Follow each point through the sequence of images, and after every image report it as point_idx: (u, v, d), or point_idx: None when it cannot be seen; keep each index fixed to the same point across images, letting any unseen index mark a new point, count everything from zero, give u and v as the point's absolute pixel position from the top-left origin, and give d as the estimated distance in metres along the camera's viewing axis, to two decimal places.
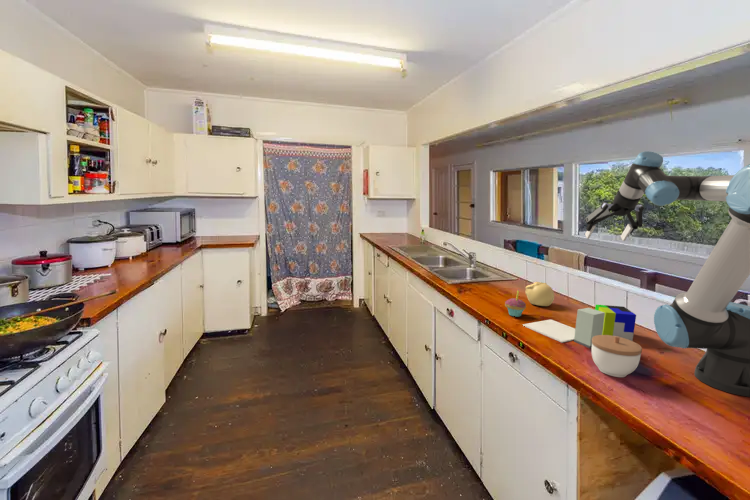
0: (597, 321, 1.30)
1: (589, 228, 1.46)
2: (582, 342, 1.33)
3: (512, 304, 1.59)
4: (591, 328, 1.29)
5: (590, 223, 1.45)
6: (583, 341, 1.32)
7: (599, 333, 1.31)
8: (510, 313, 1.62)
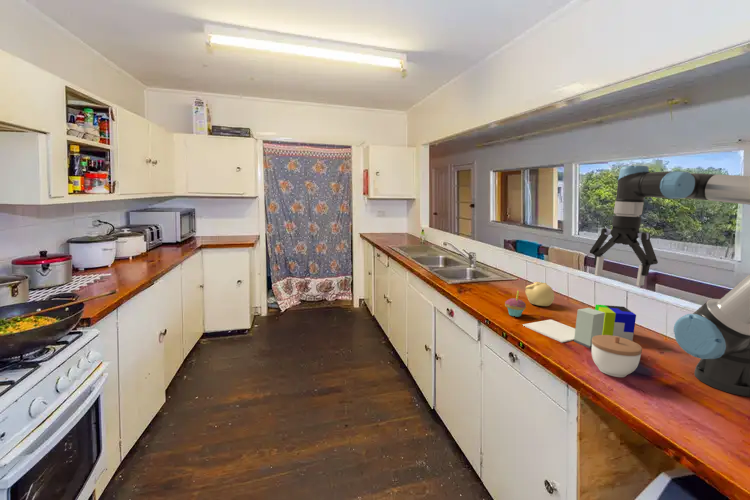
0: (597, 321, 1.30)
1: (595, 261, 1.30)
2: (582, 342, 1.33)
3: (512, 304, 1.59)
4: (591, 328, 1.29)
5: (595, 254, 1.30)
6: (583, 341, 1.32)
7: (599, 333, 1.31)
8: (510, 313, 1.62)
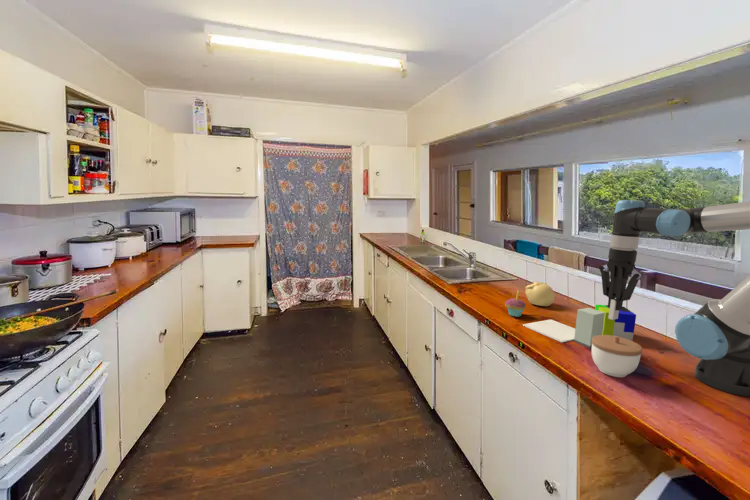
0: (597, 321, 1.30)
1: (609, 303, 1.26)
2: (582, 342, 1.33)
3: (512, 304, 1.59)
4: (591, 328, 1.29)
5: None
6: (583, 341, 1.32)
7: (599, 333, 1.31)
8: (510, 313, 1.62)
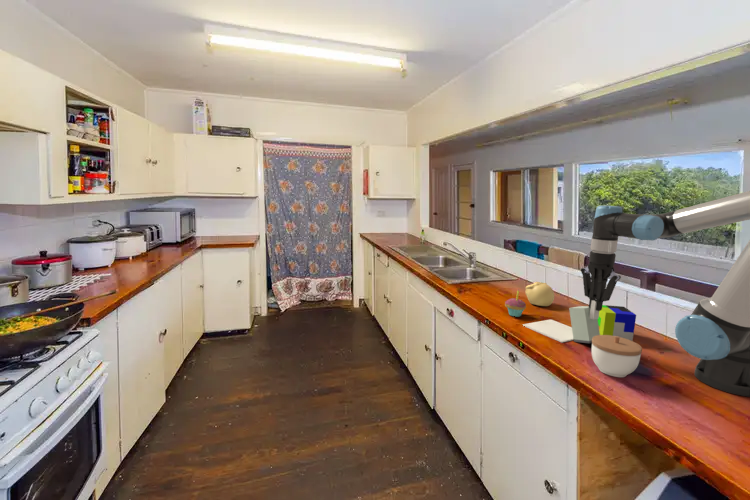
0: (589, 314, 1.32)
1: (590, 304, 1.32)
2: (581, 339, 1.33)
3: (512, 304, 1.59)
4: (586, 322, 1.31)
5: None
6: (582, 338, 1.33)
7: (595, 327, 1.33)
8: (510, 313, 1.62)
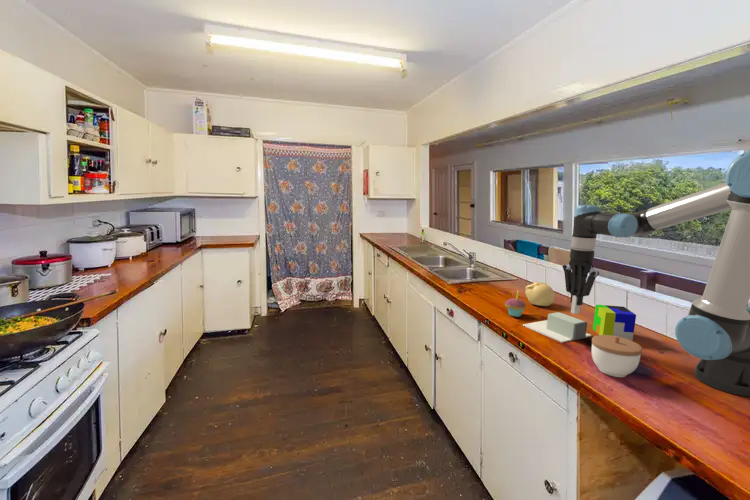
0: (557, 315, 1.44)
1: (571, 299, 1.38)
2: (572, 330, 1.36)
3: (512, 304, 1.59)
4: (559, 318, 1.41)
5: None
6: (571, 329, 1.36)
7: (573, 318, 1.40)
8: (510, 313, 1.62)
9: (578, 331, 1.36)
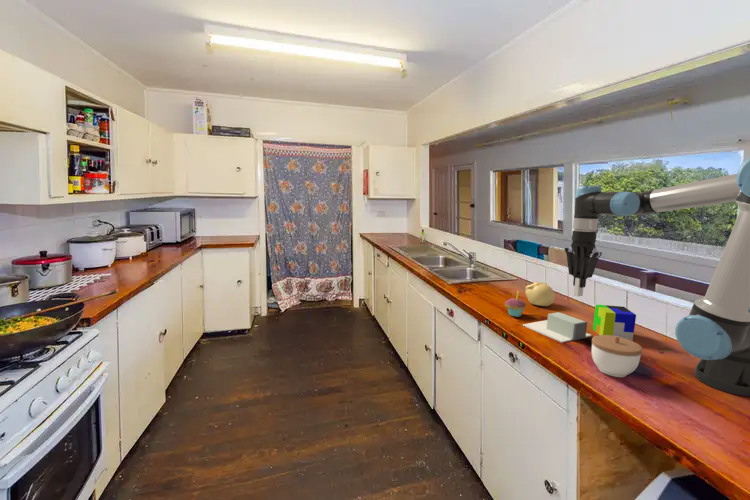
0: (557, 315, 1.44)
1: (574, 282, 1.37)
2: (572, 330, 1.36)
3: (512, 304, 1.59)
4: (559, 318, 1.41)
5: None
6: (571, 329, 1.36)
7: (573, 318, 1.40)
8: (510, 313, 1.62)
9: (578, 331, 1.36)
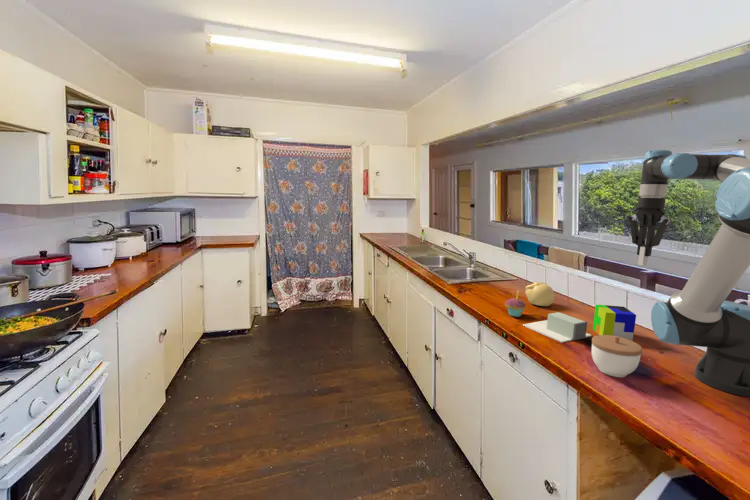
0: (557, 315, 1.44)
1: (638, 251, 1.33)
2: (572, 330, 1.36)
3: (512, 304, 1.59)
4: (559, 318, 1.41)
5: None
6: (571, 329, 1.36)
7: (573, 318, 1.40)
8: (510, 313, 1.62)
9: (578, 331, 1.36)
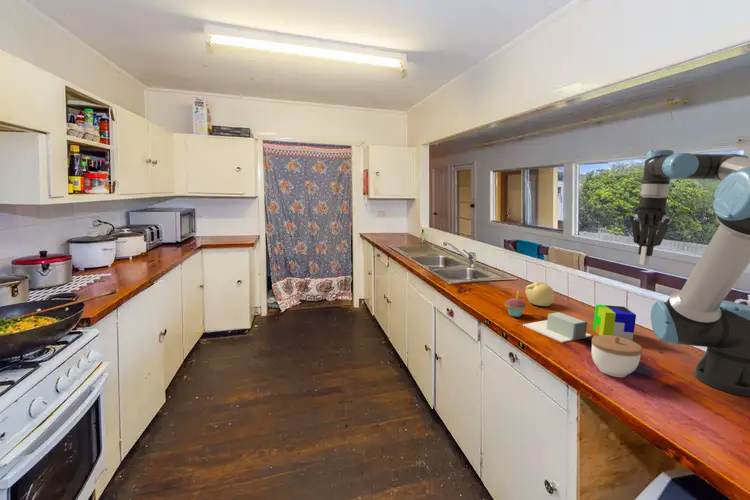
0: (557, 315, 1.44)
1: (640, 250, 1.33)
2: (572, 330, 1.36)
3: (512, 304, 1.59)
4: (559, 318, 1.41)
5: (639, 243, 1.33)
6: (571, 329, 1.36)
7: (573, 318, 1.40)
8: (510, 313, 1.62)
9: (578, 331, 1.36)
